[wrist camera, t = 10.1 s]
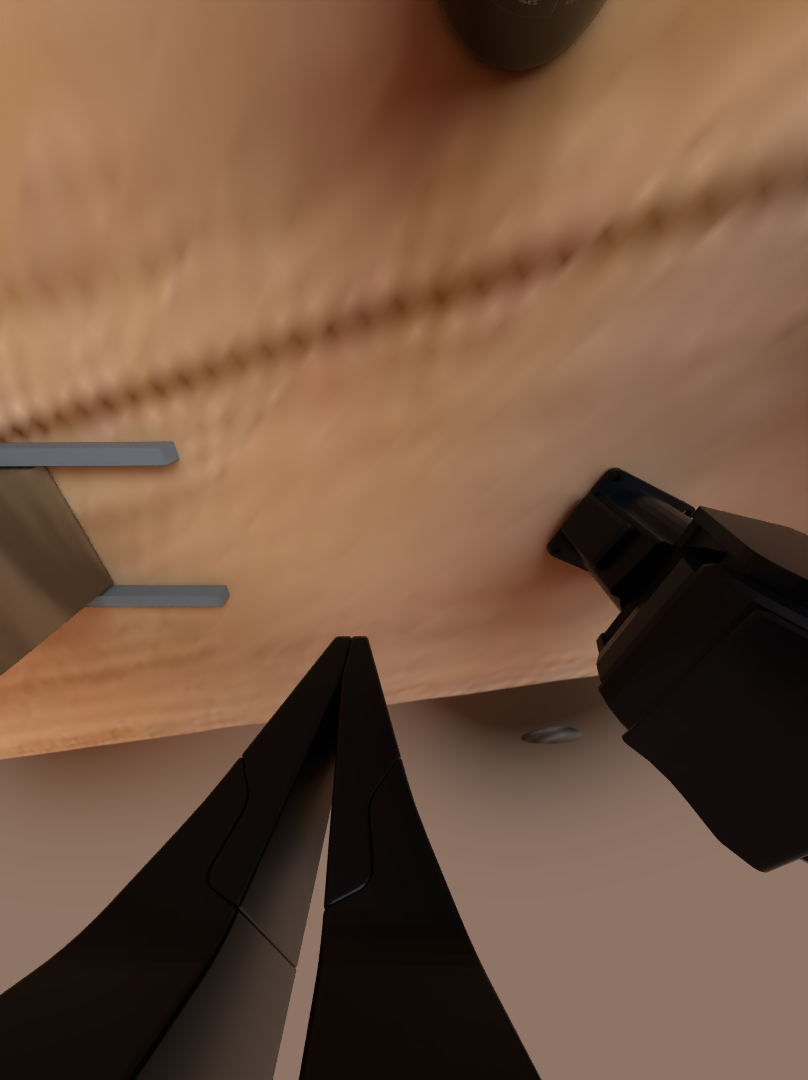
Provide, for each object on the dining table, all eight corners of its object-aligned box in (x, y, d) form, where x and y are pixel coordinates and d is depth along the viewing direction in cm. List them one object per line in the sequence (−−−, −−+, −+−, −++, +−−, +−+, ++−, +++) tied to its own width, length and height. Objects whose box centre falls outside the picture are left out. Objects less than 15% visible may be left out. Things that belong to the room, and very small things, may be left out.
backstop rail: (164, 420, 18) (70, 450, 13) (233, 608, 26) (190, 674, 21) (-203, 423, 19) (-434, 453, 14) (-33, 607, 26) (-142, 673, 21)
